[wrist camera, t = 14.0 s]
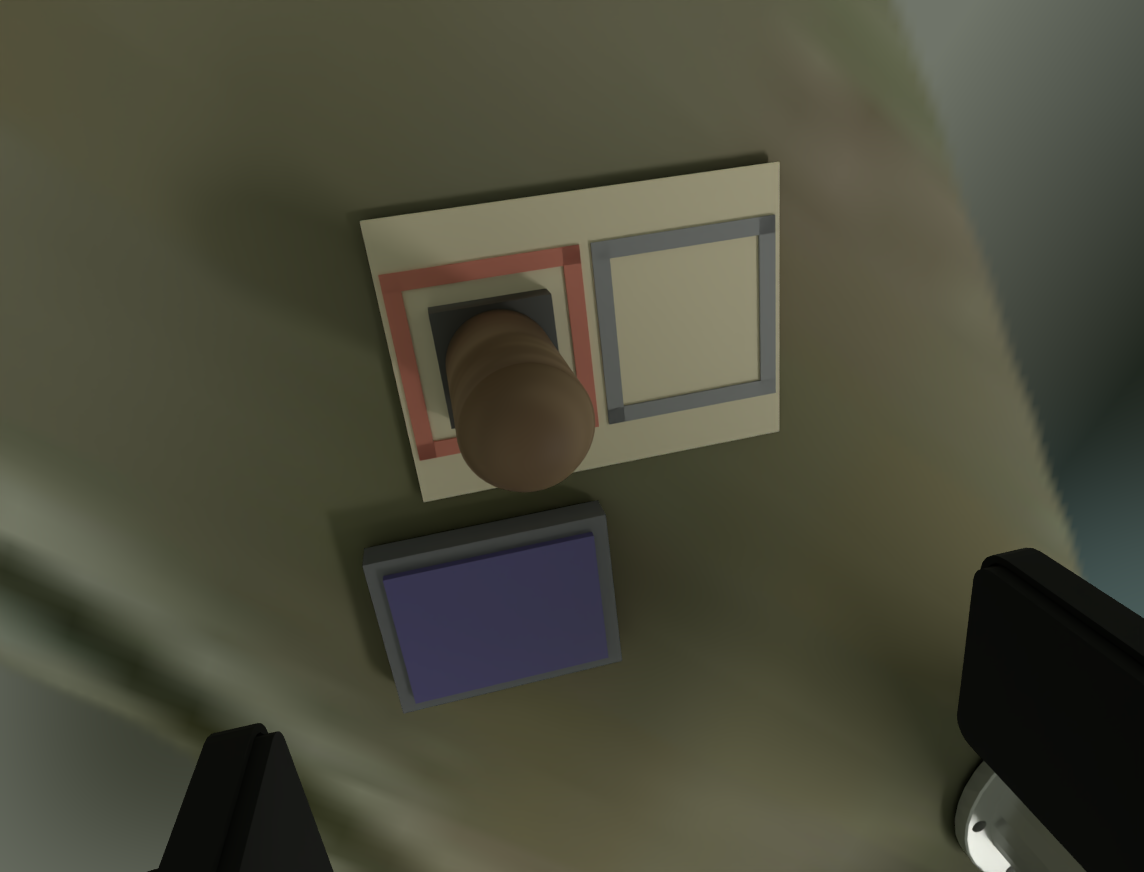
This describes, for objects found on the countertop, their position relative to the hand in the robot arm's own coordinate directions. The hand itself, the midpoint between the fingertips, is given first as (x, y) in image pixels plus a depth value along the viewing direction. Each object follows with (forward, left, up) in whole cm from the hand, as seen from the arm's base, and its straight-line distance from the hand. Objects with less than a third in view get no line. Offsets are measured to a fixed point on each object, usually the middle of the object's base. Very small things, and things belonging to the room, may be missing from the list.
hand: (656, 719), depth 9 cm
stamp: (0, 0, -17) cm, 17 cm away
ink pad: (+2, +10, -17) cm, 20 cm away
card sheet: (-3, 0, -17) cm, 17 cm away
